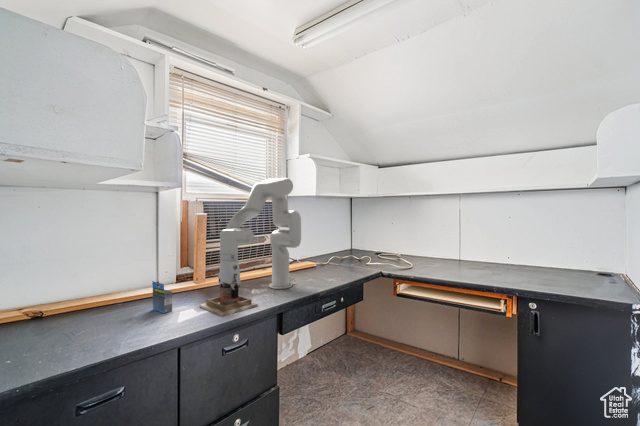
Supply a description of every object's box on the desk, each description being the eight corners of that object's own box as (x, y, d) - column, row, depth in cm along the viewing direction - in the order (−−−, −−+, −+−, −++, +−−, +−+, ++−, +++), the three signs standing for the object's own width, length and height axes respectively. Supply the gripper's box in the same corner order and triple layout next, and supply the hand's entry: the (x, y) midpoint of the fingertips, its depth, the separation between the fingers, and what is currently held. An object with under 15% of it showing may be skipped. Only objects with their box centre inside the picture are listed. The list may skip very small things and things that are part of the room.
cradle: (235, 297, 148) (235, 291, 148) (257, 306, 136) (257, 299, 136) (199, 306, 135) (199, 299, 135) (221, 316, 123) (221, 309, 123)
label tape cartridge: (172, 311, 129) (172, 282, 129) (163, 313, 126) (163, 284, 125) (160, 307, 134) (160, 279, 133) (152, 309, 130) (151, 281, 130)
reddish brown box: (220, 306, 132) (220, 283, 132) (219, 304, 135) (218, 281, 135) (239, 303, 136) (238, 281, 136) (237, 301, 139) (237, 279, 139)
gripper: (247, 258, 132) (247, 298, 133) (225, 254, 144) (225, 290, 144) (232, 260, 126) (232, 302, 127) (211, 256, 138) (211, 294, 138)
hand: (228, 295), depth 135 cm, fingers open, 8 cm apart
